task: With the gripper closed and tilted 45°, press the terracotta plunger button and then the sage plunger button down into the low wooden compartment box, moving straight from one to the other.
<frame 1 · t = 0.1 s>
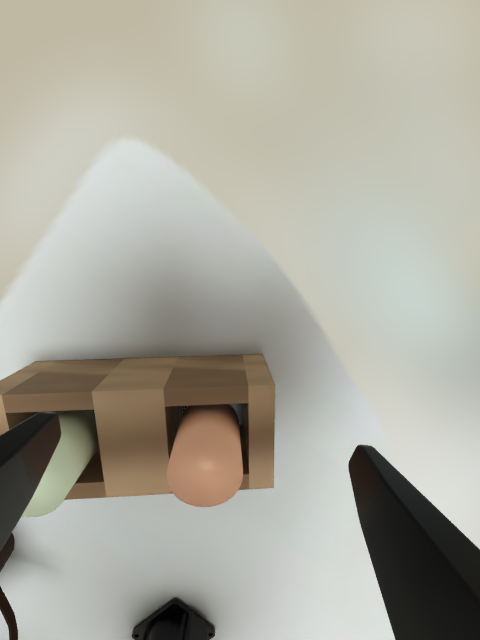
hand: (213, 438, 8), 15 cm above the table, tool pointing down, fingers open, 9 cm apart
sage button: (52, 453, 18), point 6 cm above the table, slide at 0.0 cm
wooden compartment box: (155, 400, 25), on the table
terracotta button: (207, 446, 19), point 6 cm above the table, slide at 0.0 cm
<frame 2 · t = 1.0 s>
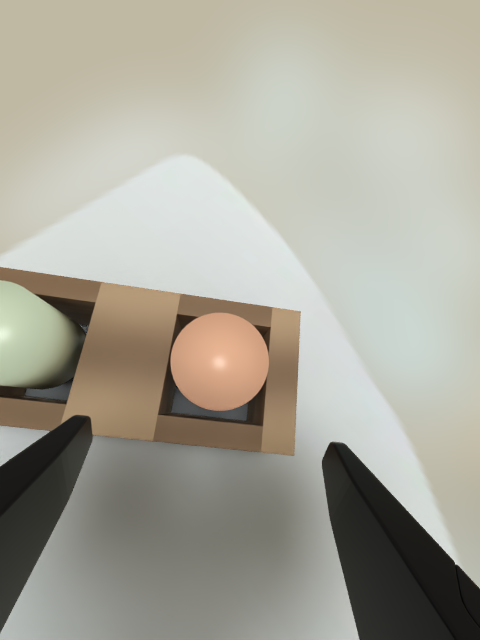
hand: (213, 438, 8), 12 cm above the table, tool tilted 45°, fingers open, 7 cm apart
sage button: (22, 341, 14), point 6 cm above the table, slide at 0.0 cm
wooden compartment box: (147, 370, 21), on the table
terracotta button: (218, 366, 15), point 6 cm above the table, slide at 0.0 cm
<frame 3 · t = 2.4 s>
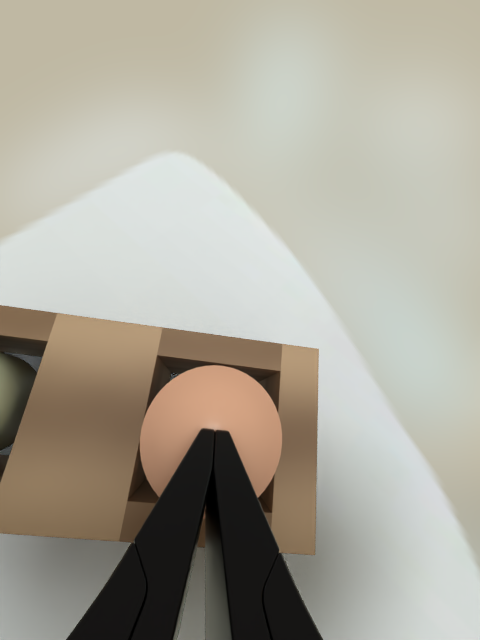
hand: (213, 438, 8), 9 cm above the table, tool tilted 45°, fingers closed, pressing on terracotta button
wooden compartment box: (124, 414, 17), on the table
terracotta button: (210, 430, 11), point 6 cm above the table, slide at 0.1 cm, touching gripper
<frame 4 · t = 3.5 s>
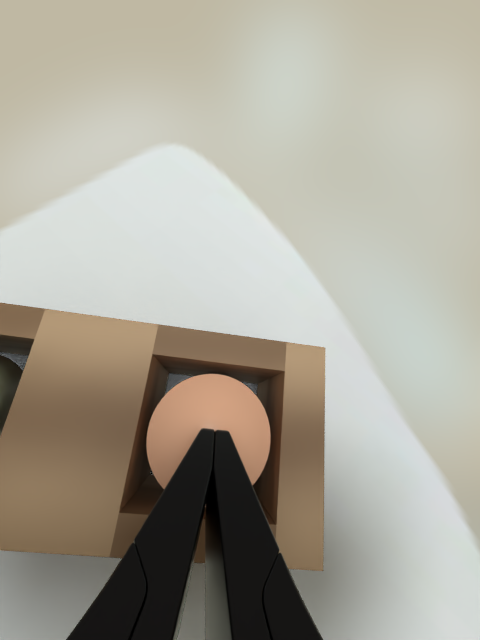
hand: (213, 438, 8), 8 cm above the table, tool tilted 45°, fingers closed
wooden compartment box: (119, 416, 16), on the table
terracotta button: (208, 431, 12), point 4 cm above the table, slide at 2.3 cm
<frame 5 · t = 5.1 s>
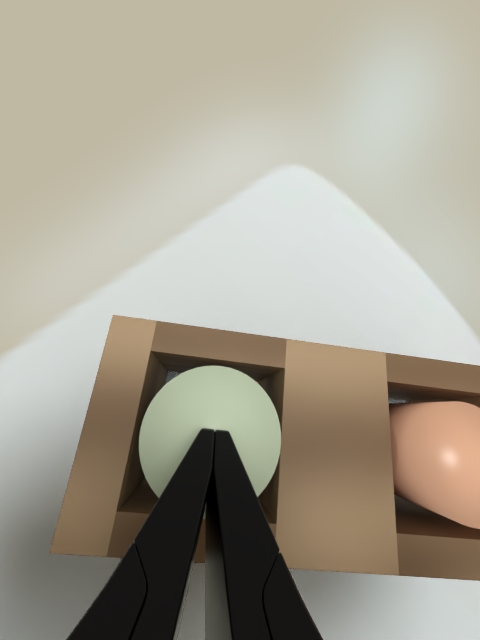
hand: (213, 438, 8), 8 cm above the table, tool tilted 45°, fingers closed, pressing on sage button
sage button: (210, 430, 11), point 5 cm above the table, slide at 1.1 cm, touching gripper
wooden compartment box: (291, 433, 17), on the table
terracotta button: (421, 451, 13), point 4 cm above the table, slide at 2.3 cm
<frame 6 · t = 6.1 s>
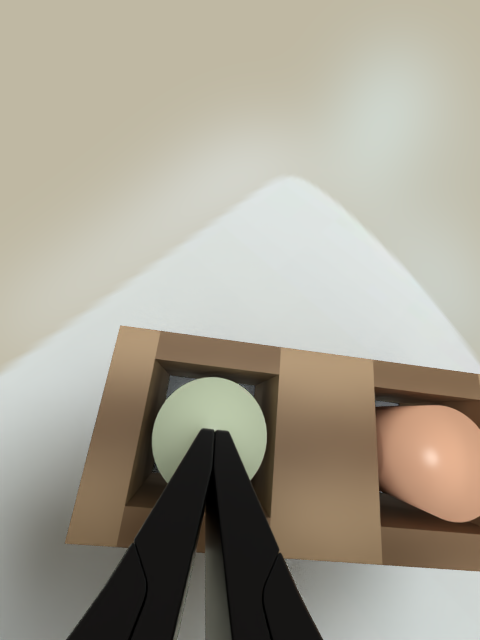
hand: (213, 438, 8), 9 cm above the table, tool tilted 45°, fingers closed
sage button: (209, 430, 13), point 4 cm above the table, slide at 2.3 cm
wooden compartment box: (286, 434, 18), on the table
terracotta button: (406, 452, 14), point 4 cm above the table, slide at 2.3 cm
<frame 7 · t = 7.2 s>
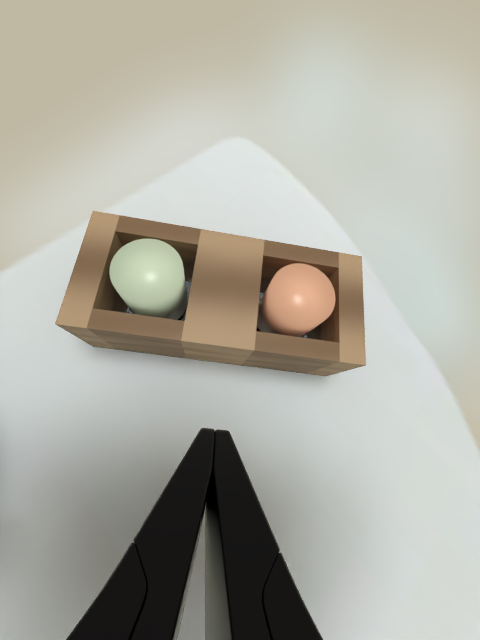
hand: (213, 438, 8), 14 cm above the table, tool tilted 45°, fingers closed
sage button: (153, 286, 20), point 4 cm above the table, slide at 2.3 cm
wooden compartment box: (220, 315, 24), on the table
terracotta button: (291, 307, 20), point 4 cm above the table, slide at 2.3 cm
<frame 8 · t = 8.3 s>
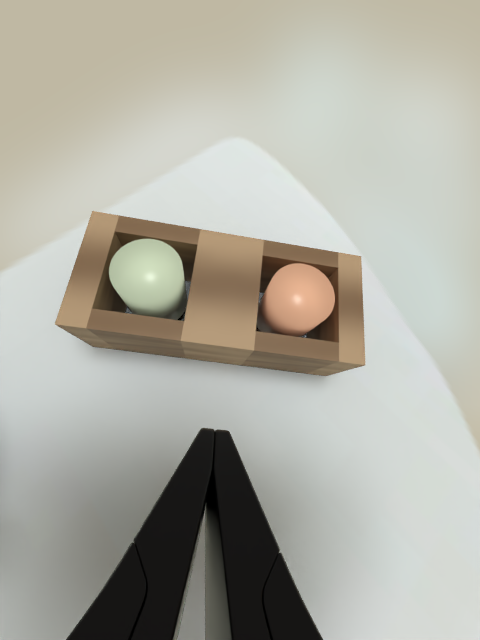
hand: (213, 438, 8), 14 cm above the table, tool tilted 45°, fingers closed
sage button: (153, 286, 20), point 4 cm above the table, slide at 2.3 cm
wooden compartment box: (220, 315, 24), on the table
terracotta button: (290, 307, 20), point 4 cm above the table, slide at 2.3 cm
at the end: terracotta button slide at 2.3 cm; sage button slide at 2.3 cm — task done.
